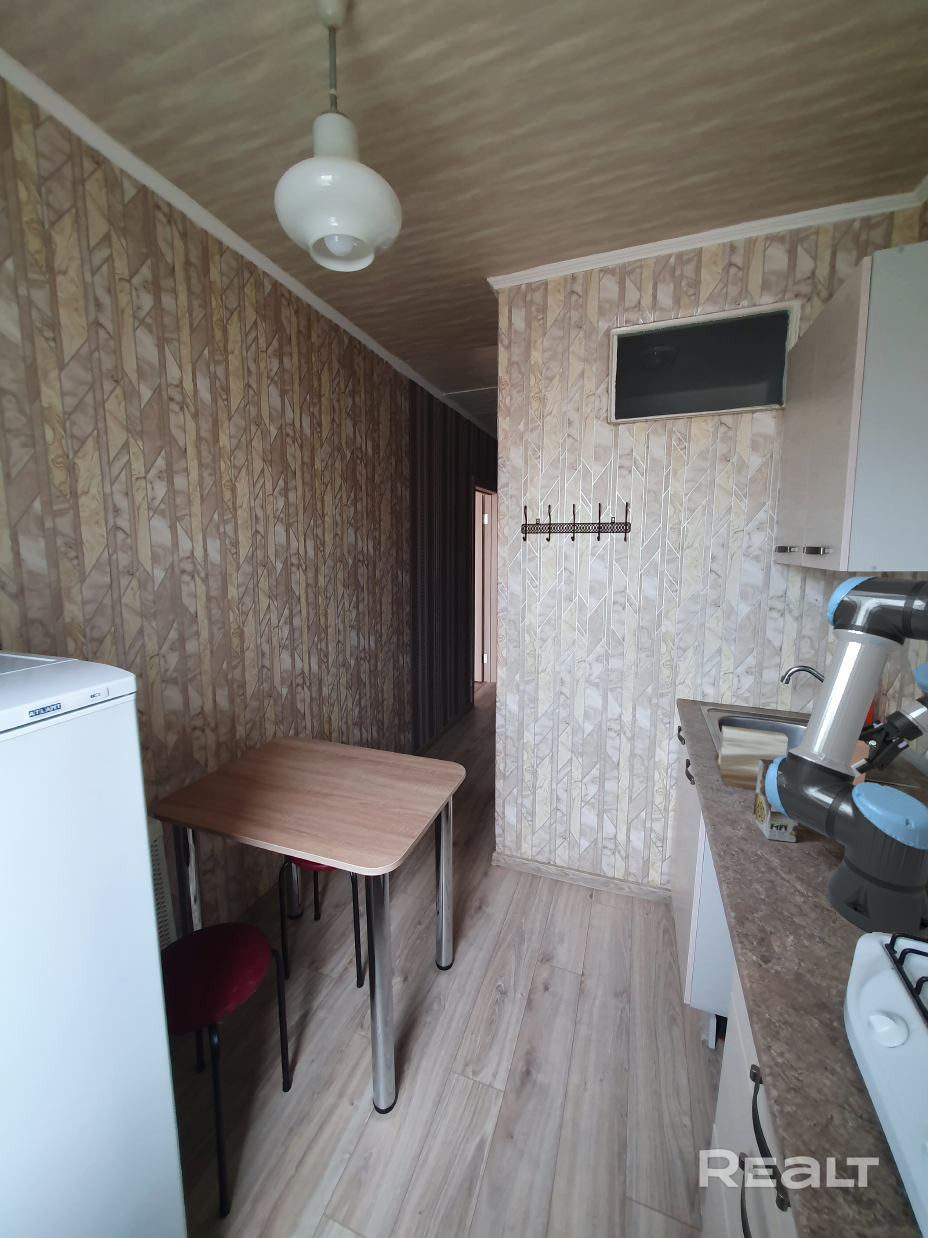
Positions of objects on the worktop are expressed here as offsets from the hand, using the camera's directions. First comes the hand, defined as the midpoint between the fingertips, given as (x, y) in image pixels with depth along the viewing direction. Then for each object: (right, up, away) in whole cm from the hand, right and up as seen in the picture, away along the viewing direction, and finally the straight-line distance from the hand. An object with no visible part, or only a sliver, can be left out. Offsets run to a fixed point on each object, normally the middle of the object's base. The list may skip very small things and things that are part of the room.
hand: (834, 765), depth 132 cm
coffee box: (-29, -10, -18) cm, 35 cm away
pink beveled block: (+2, -5, 0) cm, 5 cm away
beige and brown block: (-14, -6, +6) cm, 17 cm away
